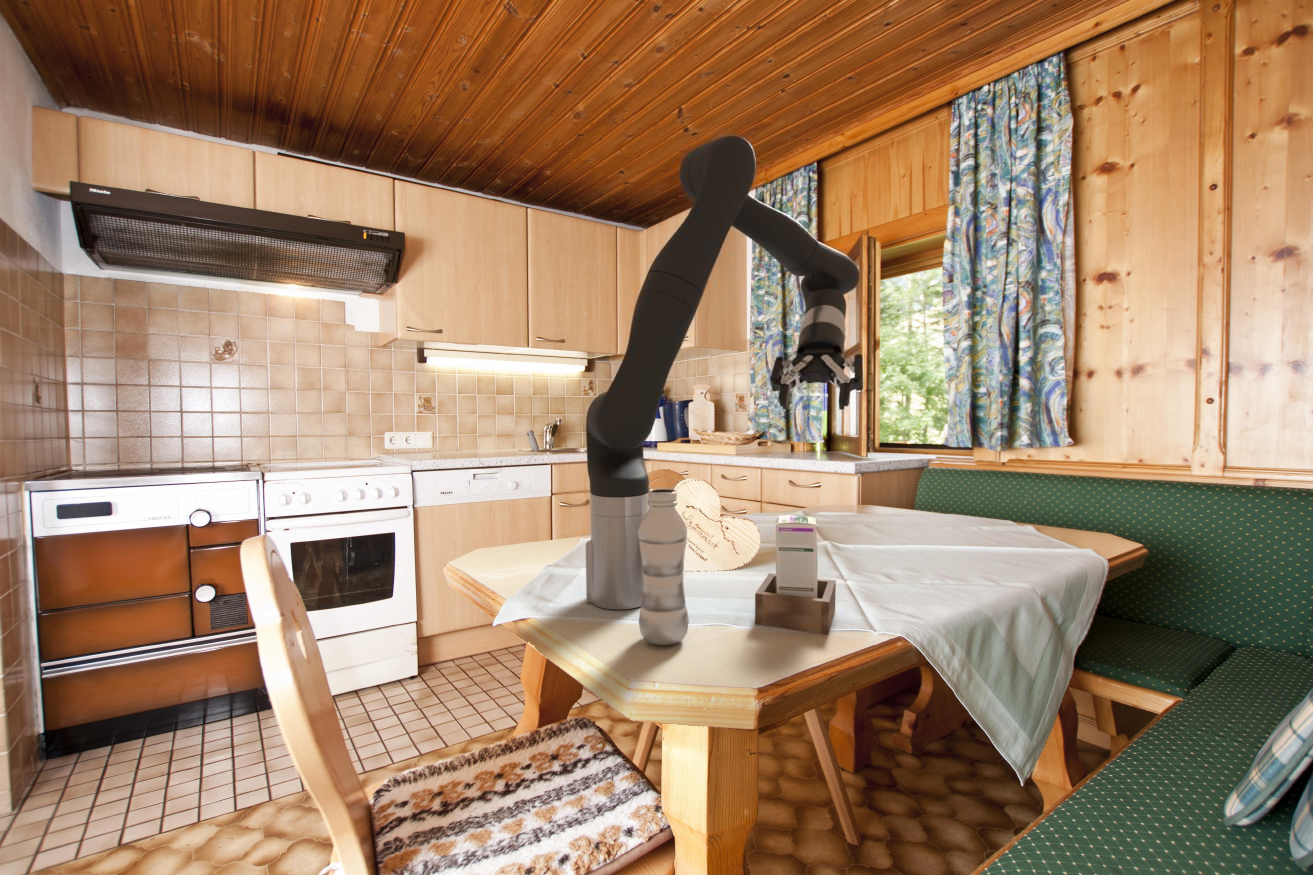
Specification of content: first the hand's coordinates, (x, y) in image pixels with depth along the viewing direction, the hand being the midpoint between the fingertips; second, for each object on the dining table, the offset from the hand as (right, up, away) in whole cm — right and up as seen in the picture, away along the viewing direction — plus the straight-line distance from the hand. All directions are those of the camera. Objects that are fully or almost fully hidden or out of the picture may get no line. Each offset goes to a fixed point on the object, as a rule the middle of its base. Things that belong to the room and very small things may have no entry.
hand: (812, 405), depth 90 cm
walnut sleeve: (-4, -31, -5) cm, 32 cm away
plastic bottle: (-23, -32, -13) cm, 41 cm away
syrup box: (-4, -31, -5) cm, 32 cm away
